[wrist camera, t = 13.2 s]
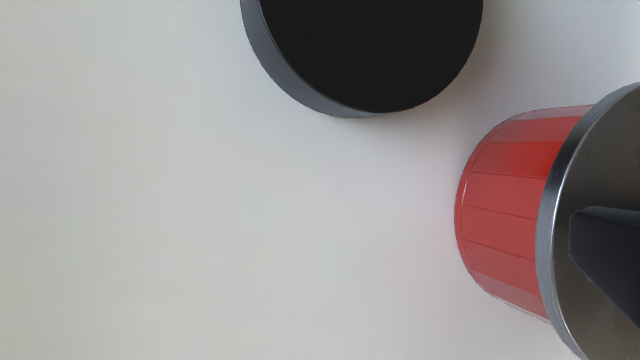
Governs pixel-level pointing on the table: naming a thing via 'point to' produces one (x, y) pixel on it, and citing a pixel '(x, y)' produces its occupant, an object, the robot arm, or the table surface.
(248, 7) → the stand
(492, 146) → the red faceted pot
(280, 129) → the table surface
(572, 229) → the robot arm
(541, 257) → the lid
